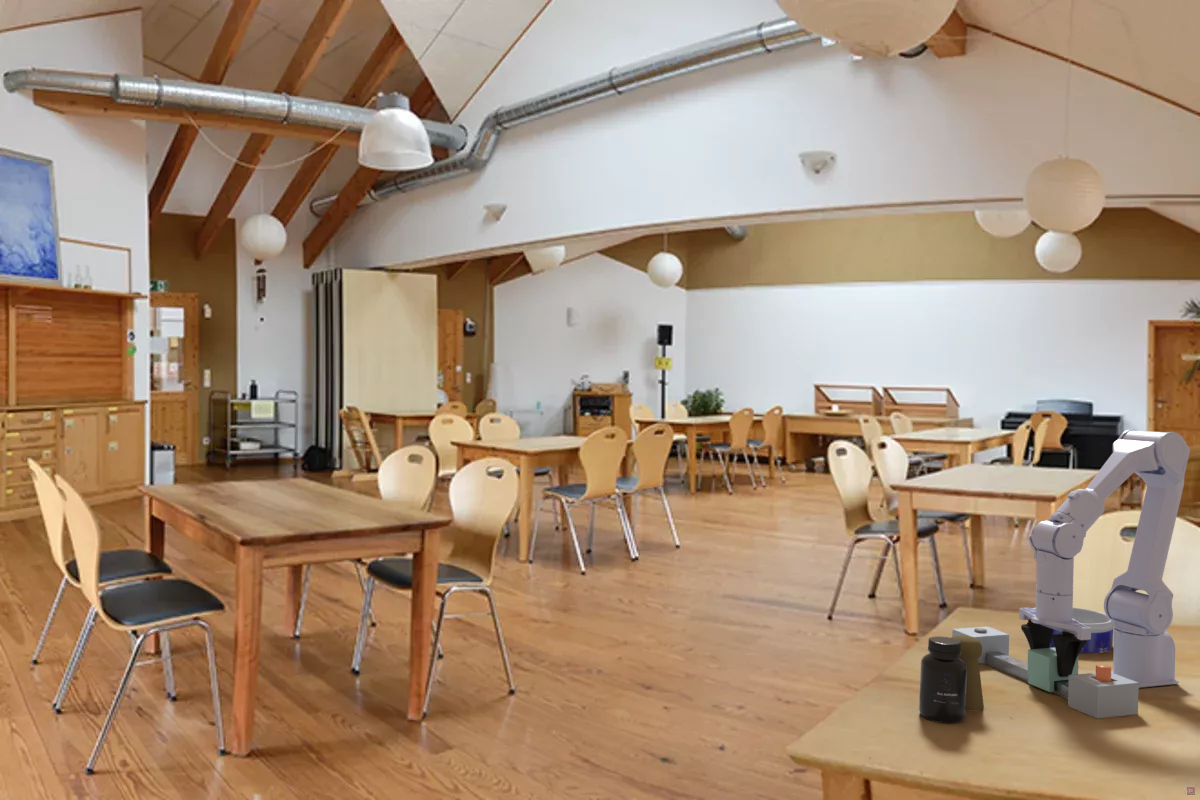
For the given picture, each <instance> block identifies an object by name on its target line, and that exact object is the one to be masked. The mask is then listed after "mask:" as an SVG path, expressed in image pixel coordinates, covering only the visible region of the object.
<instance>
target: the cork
mask: <svg viewBox="0 0 1200 800" xmlns="http://www.w3.org/2000/svg"><path fill="white" fill-rule="evenodd" d="M950 638H953V639H957V640H959V641H960V642H961V655H959V657H960V658H962V659H963V660H964V661H965V663H966V665H967V685H966V710H965V711H968V712H969V711H970V712H972V711H981V710H983V709H984V708H985V707H984V698H983V689H982V688H983V687H982V681H981V680H982V679H981V672H980V671H981V670H980V663H979V661H978V659H979V657H980V656H981V654H982V644H981V642H980V640H978V639H977V638H975V637H971V636H966V635H957V636H953V637H952V636H951V637H950Z"/></svg>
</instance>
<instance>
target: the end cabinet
mask: <svg viewBox="0 0 1200 800" xmlns="http://www.w3.org/2000/svg"><path fill="white" fill-rule="evenodd" d="M1139 689H1140V688H1139V683H1138V682H1136V681H1133V680H1130V679H1128V678H1125V677H1122V676H1119V675H1117V674H1114V673H1111V682H1101V681H1098V680H1096V672H1087V673H1078V674H1076V675H1069V684H1068V699H1067V706H1068V707H1070V708H1071V709H1075V710H1076V711H1079V712H1081V713H1084V714H1086V715H1087V716H1090V717H1093V718H1095V719H1104V718H1114V717H1124V716H1133V715H1138V714H1139V692H1140V691H1139Z"/></svg>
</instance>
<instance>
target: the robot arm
mask: <svg viewBox="0 0 1200 800" xmlns="http://www.w3.org/2000/svg"><path fill="white" fill-rule="evenodd" d="M1190 453H1191V450H1190V448H1189V446H1188V444H1187V442H1186V441H1185V440H1184V438H1183V436H1182V435H1181V434H1180V433H1177V432H1174V431H1167V432H1166V431H1164V432H1163V431H1152V430H1151V431H1149V430H1138V429H1131V428H1130V429H1127V430H1124V431H1123V432H1122V433H1121V434H1120V435H1119V437H1118V438H1117V440H1115V441H1114V442H1113V443H1112V453H1111V455H1110V456H1109V457H1108V459H1107V460H1106V461H1105V462H1104V464H1103V465H1102V466H1101V468H1100V469H1099V470H1098V472H1097V473H1096V475H1095V476H1093V477H1094V478H1092V480H1091V481H1090V483H1089V484H1088V485H1087V486H1086V488H1078V489H1075V490H1074V491H1073V490H1072V491H1071V490H1070V492H1069V493H1068V494H1067V498H1066V499H1065V500H1064V501H1063V503H1062V504H1061V505H1060V506H1059V507H1058V508H1057V509H1056V510H1055V511H1054V512H1053V513H1052V514H1051V516H1050V517H1049V518H1048V519H1044V520H1042V521H1040V522H1039V521H1038V523H1037V524H1036V525H1034V527H1033V528H1032V531H1031V534H1030V535H1028V542H1029V545H1030V547H1031V548H1032V550H1033V552H1034V553H1033V555H1034V557H1033V558H1034V560H1035V562H1036V568H1035V569H1036V571H1035V576H1036V577H1035V579H1036V581H1035V607H1036V609H1032V608H1031V607H1019V610H1018V611H1019V612H1018V614H1019V615H1018V619H1019V620H1022V621H1027V622H1026V624H1025V623H1024V624H1021V625H1020V627H1021V630H1022V632H1023V634H1024V636H1025V638H1026V639H1027V642H1028V645H1029V650H1030V649H1042V648H1049V647H1050V641H1051V638H1052V639H1053V642H1054V645H1055V649H1056V655H1057V671H1058V675H1059V676H1060V677H1068V676H1069V675H1071V674H1072V671H1073V668H1074V665H1075V662H1076V659H1077V657H1078V658H1079V655H1080V654H1081V653H1080V651H1081V649H1082V648H1083V646H1084V645H1085V644H1086V642H1087V640H1090V639H1091V628H1090V627H1087V626H1085V625H1083V624H1081V623H1080V622H1078V621H1076V620H1074V619H1073V618H1072V615H1073V604H1074V603H1073V602H1074V601H1073V600H1074V568H1075V567H1074V566H1075V565H1074V564H1075V562H1074V561H1075V559H1074V558H1075V557H1076V556H1077V555H1078V554H1079V553H1081V551H1082V548H1083V545H1084V540H1085V539H1086V537H1087V532H1088V530H1089V529H1090V528H1091V527H1093V525H1094V524H1095V523H1096V521H1097V520H1098V519H1100V517H1101V516H1102V515H1103V514H1104V513H1105V511H1106V510H1105V508H1106V507H1105V500H1107V499H1108V498H1109V497H1110V496H1111V495H1112V494H1113V493H1114V492H1115V491H1116V490H1117V489H1118V488H1119V487H1120V486H1121V485H1122V484H1123V483H1124V482H1125V481H1127V479H1128V478H1130V477H1131V476H1132V475H1133V474H1136V475H1137V476H1138V477H1139V478H1141V479H1142V481H1143V482H1144V484H1145V485H1146V489H1145V493H1144V498H1143V502H1142V507H1141V511H1140V516H1139V519H1138V523H1137V528H1136V531H1135V535H1134V541H1133V545H1132V549H1131V553H1130V557H1129V561H1128V566H1127V570H1126V571H1125V572H1123V573H1121V574H1120V575H1118V576H1117V577H1115V578H1113V581H1112V585H1111V588H1110V589H1109V591H1108V592H1107V594H1106V595H1105V596H1104V597H1105V598H1104V601H1103V609H1104V611H1103V612H1104V613H1105V614H1106V615H1107V617H1108V618H1109V619H1110V620H1111V625H1112V626H1113V649H1112V650H1113V651H1112V652H1113V653H1112V654H1113V655H1112V656H1113V658H1112V661H1113V662H1112V663H1113V664H1112V670H1111V673H1114V674H1117V675H1119V676H1122V677H1125V678H1128V679H1130V680H1133V681H1136V682H1138V683H1139V689H1141V688H1149V687H1150V688H1151V687H1157V686H1159V687H1160V686H1168V685H1178V684H1179V680H1177V679H1175V678H1176V677H1175V676H1176V675H1175V674H1176V643H1175V641H1174V639H1173V637H1172V635H1171V634H1170V633H1169V632H1168V631H1167V630H1168V629H1169V627H1170V626H1171V624H1172V622H1173V617H1174V614H1173V612H1174V610H1173V598H1174V593H1173V591H1171V589H1170V587H1168V586H1167V585H1166V584H1165V582H1164V581H1163V577H1164V572H1165V569H1166V564H1167V560H1168V556H1169V555H1168V554H1169V550H1170V545H1171V542H1172V538H1173V534H1174V529H1175V525H1176V520H1177V517H1178V512H1179V509H1180V508H1179V507H1180V504H1181V499H1182V495H1183V490H1184V485H1185V474H1186V469H1187V465H1188V461H1189V457H1190ZM1138 591H1144V592H1145V593H1142V592H1138ZM1054 630H1057V631H1060V632H1062V634H1056V635H1052V634H1053V632H1054Z"/></svg>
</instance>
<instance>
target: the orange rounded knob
mask: <svg viewBox="0 0 1200 800" xmlns="http://www.w3.org/2000/svg"><path fill="white" fill-rule="evenodd" d="M1111 671H1112V666H1111V665H1108V664H1100V663H1099V664H1096V665H1095V673H1096V680H1098V681H1101V682H1111Z"/></svg>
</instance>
